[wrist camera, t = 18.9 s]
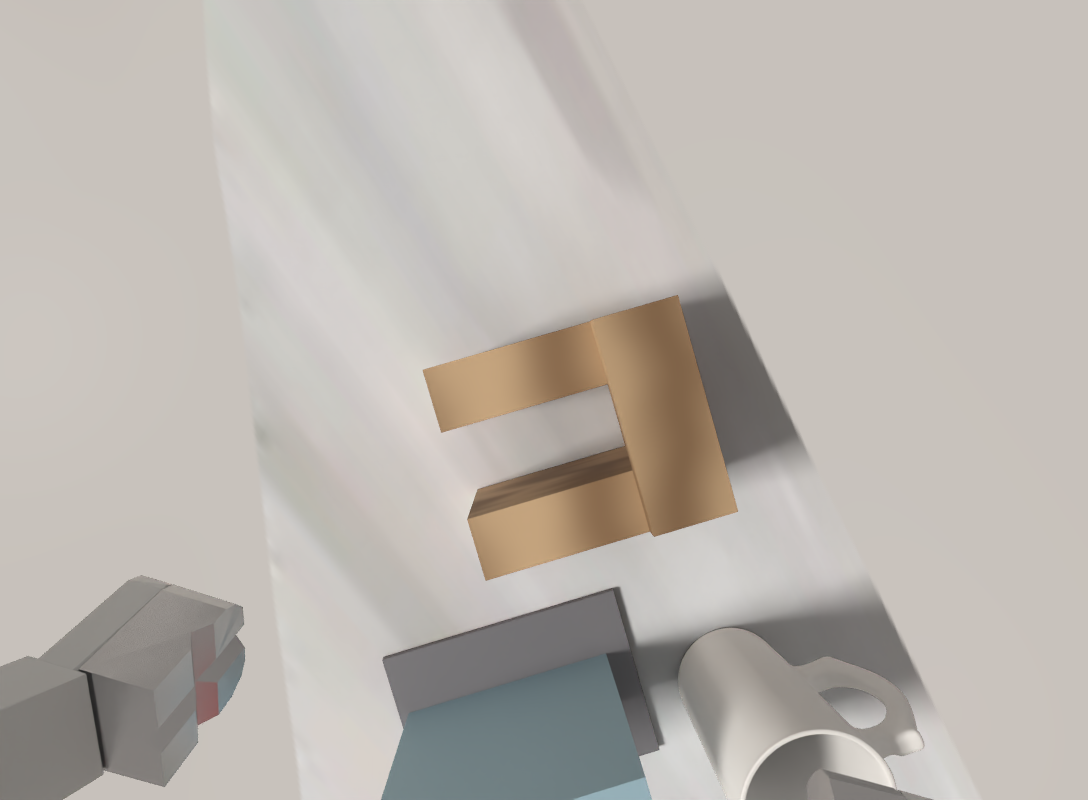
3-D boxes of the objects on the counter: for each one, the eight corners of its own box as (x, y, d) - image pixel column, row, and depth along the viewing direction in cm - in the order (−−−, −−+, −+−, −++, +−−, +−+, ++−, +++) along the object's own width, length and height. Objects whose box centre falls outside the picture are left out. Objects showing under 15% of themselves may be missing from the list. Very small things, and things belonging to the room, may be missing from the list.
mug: (697, 750, 40) (774, 911, 28) (655, 649, 40) (715, 769, 28) (850, 684, 40) (991, 815, 28) (809, 583, 40) (935, 673, 28)
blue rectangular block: (423, 761, 39) (381, 933, 27) (408, 713, 39) (360, 865, 27) (619, 701, 39) (665, 845, 27) (605, 653, 39) (645, 777, 27)
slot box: (492, 538, 39) (484, 587, 30) (442, 370, 38) (419, 369, 29) (687, 480, 39) (738, 511, 30) (640, 313, 39) (677, 295, 30)
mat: (432, 815, 39) (431, 820, 39) (383, 657, 39) (382, 660, 39) (658, 746, 40) (659, 749, 39) (612, 588, 39) (613, 590, 39)
